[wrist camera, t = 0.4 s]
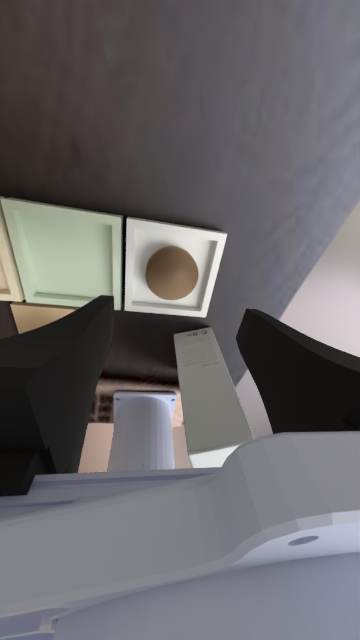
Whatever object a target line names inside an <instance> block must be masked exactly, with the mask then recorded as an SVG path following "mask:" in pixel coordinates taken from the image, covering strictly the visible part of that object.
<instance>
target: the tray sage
mask: <svg viewBox="0 0 360 640" xmlns="http://www.w3.org/2000/svg"><path fill="white" fill-rule="evenodd" d="M0 200H1V204H2V208H3V212H4V216H5V220H6V224H7V228H8V232H9V236H10V239H11V243H12V247H13V251H14V255H15V259H16V263H17V267H18V271H19V275H20V279H21V283H22V287H23V291H24V295H25V299H26V302H28V303H40V304H52V305H64V306H76V307H82V306H84V305H85V304H87V303H89V302H90V301H92V300H93V299H95V298H97V297H98V296H100V295H108V296H114V310H120V309H121V305H122V260H123V216H122V215H116V214H110V213H104V212H97V211H91V210H85V209H79V208H72V207H66V206H60V205H54V204H47V203H41V202H35V201H28V200H22V199H16V198H0Z"/></svg>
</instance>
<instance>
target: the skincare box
mask: <svg viewBox="0 0 360 640" xmlns="http://www.w3.org/2000/svg"><path fill="white" fill-rule="evenodd" d="M174 343H175V351H176V359H177V368H178V377H179V385H180V393H181V401H182V410H183V418H184V427H185V435H186V442H187V451H188V456H189V460H190V464H191V467H192V468H209V467H222V465H223V463H224V461H225V460H226V458H227V457H228V456H229V455H230V454H231V453H232V452H233V451H234V450H235V449H236V448H237V447H238V446H240V445H242V444H244V443H246V442H249V441H251V440H253V439H254V436H253V433H252V431H251V428H250V425H249V422H248V420H247V417H246V414H245V412H244V410H243V407H242V405H241V402H240V400H239V397H238V395H237V392H236V389H235V387H234V384H233V382H232V379H231V377H230V374H229V372H228V369H227V366H226V364H225V361H224V359H223V356H222V353H221V351H220V348H219V346H218V343H217V341H216V338H215V336H214V333H213V330H212V328H211V327H208V328H203V329H198V330H193V331H188V332H182V333H177V334H174Z"/></svg>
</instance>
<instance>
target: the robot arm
mask: <svg viewBox="0 0 360 640" xmlns="http://www.w3.org/2000/svg"><path fill="white" fill-rule="evenodd" d="M113 334H114V296H108V295H100V296H98V297H97V298H95V299H93V300H92V301H90V302H89V303H87V304H85V305H84V306H82V307H80V308H79V309H77V310H75V311H73V312H71V313H70V314H68V315H66V316H64V317H62V318H60V319H58V320H56V321H53V322H51V323H49V324H46V325H44V326H41V327H39V328H36V329H33V330H30V331H27V332H24V333H21V334H18V335H14V336H11V337H7V338H4V339H0V640H360V357H357V356H354V355H352V354H349V353H346V352H343V351H341V350H338V349H335V348H333V347H331V346H328V345H326V344H324V343H321V342H319V341H317V340H314V339H313V338H310V337H308V336H306V335H304V334H302V333H300V332H299V331H297V330H295V329H293V328H291V327H289V326H287V325H286V324H284V323H282V322H280V321H279V320H277V319H275V318H273V317H272V316H270V315H268V314H266V313H264V312H262V311H259V310H257V309H247V308H246V311H245V314H244V317H243V319H242V322H241V325H240V328H239V330H238V333H237V336H236V340H237V344H238V347H239V350H240V353H241V355H242V357H243V359H244V361H245V363H246V365H247V367H248V369H249V371H250V373H251V375H252V377H253V379H254V381H255V383H256V385H257V388H258V390H259V392H260V395H261V398H262V401H263V403H264V406H265V409H266V412H267V415H268V418H269V421H270V424H271V427H272V431H273V434H271V435H265V436H260V437H257V438H255V439H253V440H251V441H249V442H246V443H244V444H242V445H240V446H238V447H237V448H236V449H235V450H234V451H233V452H232V453H231V454H230V455H229V456H228V457H227V458H226V460H225V461H224V463H223V465H222V467H209V468H187V469H175V464H174V450H173V437H172V418H173V413H174V409H175V405H176V400H177V394H176V393H163V392H115V393H114V396H113V405H114V432H113V438H112V444H111V450H110V456H109V462H108V468H107V472H94V473H78V468H79V463H80V458H81V452H82V448H83V444H84V439H85V434H86V429H87V425H88V421H89V416H90V412H91V407H92V403H93V399H94V395H95V391H96V387H97V384H98V380H99V378H100V375H101V372H102V369H103V367H104V364H105V361H106V358H107V356H108V353H109V350H110V347H111V343H112V339H113Z"/></svg>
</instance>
